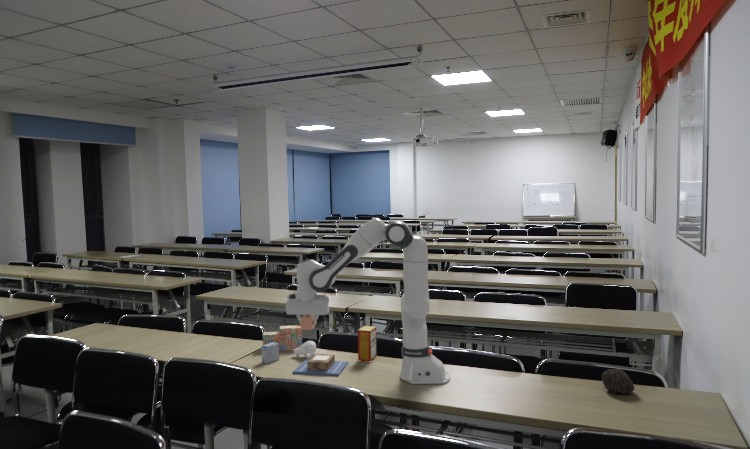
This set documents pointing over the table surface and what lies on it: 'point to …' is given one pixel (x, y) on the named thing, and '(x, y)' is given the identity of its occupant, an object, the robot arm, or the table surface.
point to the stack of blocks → (285, 337)
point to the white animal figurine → (306, 349)
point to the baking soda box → (367, 343)
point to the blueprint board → (312, 372)
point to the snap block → (307, 322)
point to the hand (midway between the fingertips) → (307, 324)
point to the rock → (617, 381)
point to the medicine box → (270, 352)
